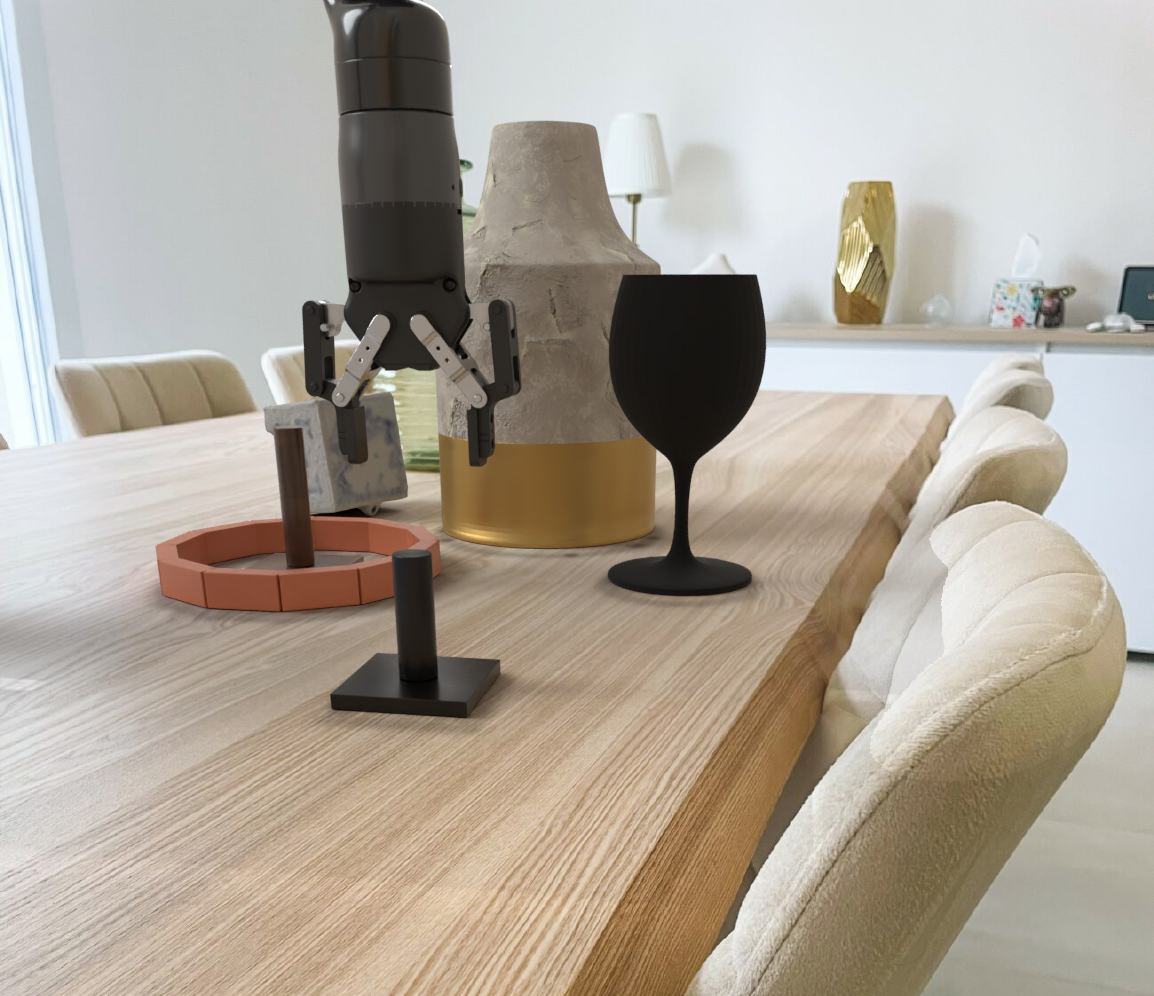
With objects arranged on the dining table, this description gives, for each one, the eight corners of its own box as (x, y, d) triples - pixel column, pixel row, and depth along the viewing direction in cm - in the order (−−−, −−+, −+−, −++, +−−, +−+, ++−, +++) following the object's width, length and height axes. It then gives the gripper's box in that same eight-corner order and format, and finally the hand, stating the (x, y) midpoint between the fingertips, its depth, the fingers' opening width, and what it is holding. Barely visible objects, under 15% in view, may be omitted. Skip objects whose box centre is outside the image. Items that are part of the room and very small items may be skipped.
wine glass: (581, 570, 85) (581, 274, 77) (700, 555, 89) (712, 274, 81) (654, 602, 76) (662, 274, 68) (782, 584, 81) (803, 274, 73)
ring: (106, 603, 76) (100, 567, 75) (236, 542, 94) (232, 513, 93) (386, 617, 73) (384, 579, 72) (466, 551, 91) (465, 521, 90)
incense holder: (348, 500, 112) (339, 387, 108) (412, 509, 108) (405, 392, 104) (270, 515, 105) (258, 395, 100) (335, 525, 100) (325, 400, 96)
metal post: (330, 709, 57) (318, 566, 55) (377, 666, 64) (368, 536, 61) (467, 717, 56) (461, 572, 53) (500, 673, 63) (497, 541, 60)
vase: (407, 540, 95) (382, 116, 83) (488, 502, 111) (477, 143, 99) (623, 554, 90) (629, 106, 78) (675, 512, 106) (687, 135, 94)
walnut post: (235, 584, 81) (217, 431, 77) (276, 562, 87) (261, 420, 83) (330, 589, 80) (316, 433, 76) (364, 566, 86) (354, 421, 82)
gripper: (270, 199, 70) (298, 471, 76) (497, 193, 68) (506, 474, 74) (317, 205, 77) (339, 455, 83) (525, 201, 74) (532, 458, 81)
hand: (418, 464), depth 79 cm, fingers open, 8 cm apart
